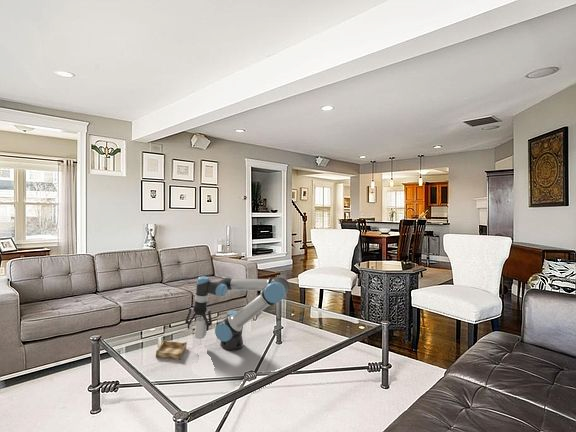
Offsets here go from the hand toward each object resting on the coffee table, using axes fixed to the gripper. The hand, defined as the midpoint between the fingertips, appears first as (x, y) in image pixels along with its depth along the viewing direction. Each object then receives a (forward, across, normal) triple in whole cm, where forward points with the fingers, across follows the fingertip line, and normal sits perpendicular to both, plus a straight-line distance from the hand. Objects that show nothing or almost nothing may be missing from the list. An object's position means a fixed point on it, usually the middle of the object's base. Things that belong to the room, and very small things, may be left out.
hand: (197, 334), depth 224 cm
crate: (+8, +13, +11) cm, 19 cm away
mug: (+2, 0, 0) cm, 2 cm away
